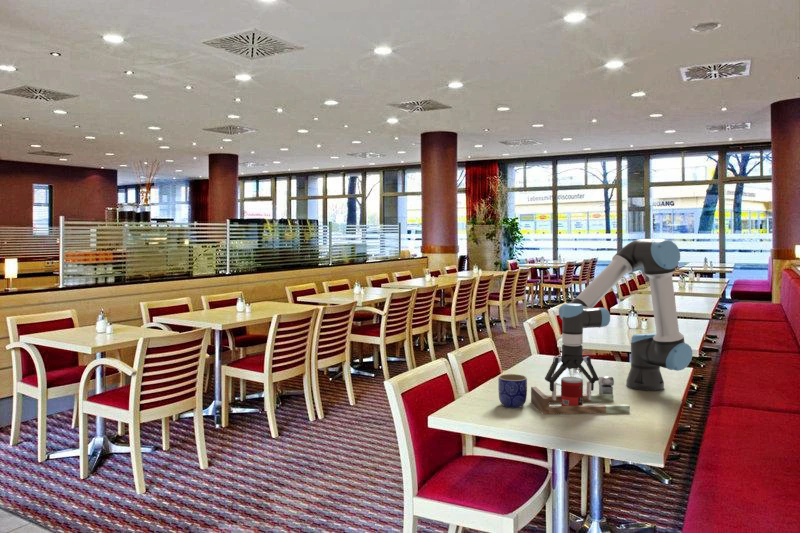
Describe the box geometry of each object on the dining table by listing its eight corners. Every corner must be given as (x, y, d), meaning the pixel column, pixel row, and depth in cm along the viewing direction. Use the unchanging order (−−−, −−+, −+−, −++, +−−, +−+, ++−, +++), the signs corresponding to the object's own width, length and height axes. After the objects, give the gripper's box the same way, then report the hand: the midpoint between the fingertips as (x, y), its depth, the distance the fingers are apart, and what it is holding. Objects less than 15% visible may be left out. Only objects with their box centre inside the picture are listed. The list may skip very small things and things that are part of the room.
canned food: (583, 410, 228) (583, 381, 227) (561, 409, 229) (561, 380, 229) (581, 405, 235) (581, 377, 235) (560, 403, 237) (560, 376, 236)
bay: (611, 399, 242) (611, 385, 242) (629, 412, 225) (629, 396, 225) (531, 401, 240) (531, 386, 240) (543, 414, 223) (543, 398, 223)
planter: (528, 403, 239) (528, 375, 238) (524, 410, 228) (525, 381, 228) (500, 400, 242) (500, 373, 242) (496, 408, 232) (496, 379, 231)
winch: (609, 396, 247) (610, 375, 247) (613, 399, 243) (614, 378, 243) (597, 396, 247) (598, 375, 246) (601, 399, 243) (601, 378, 242)
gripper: (600, 342, 236) (599, 396, 237) (537, 342, 234) (536, 397, 235) (608, 345, 228) (607, 401, 229) (542, 346, 227) (542, 402, 228)
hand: (571, 399), depth 232 cm, fingers open, 13 cm apart
